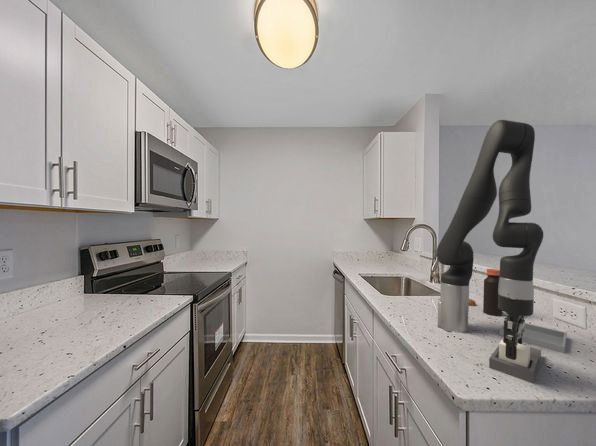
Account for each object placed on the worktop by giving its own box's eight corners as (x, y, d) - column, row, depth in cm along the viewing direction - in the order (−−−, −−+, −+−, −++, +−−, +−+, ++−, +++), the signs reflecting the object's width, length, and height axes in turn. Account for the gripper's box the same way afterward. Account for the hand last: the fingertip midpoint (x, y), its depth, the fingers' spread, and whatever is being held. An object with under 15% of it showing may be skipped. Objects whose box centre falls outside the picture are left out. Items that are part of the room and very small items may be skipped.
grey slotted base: (489, 367, 71) (489, 355, 71) (502, 347, 83) (503, 336, 83) (533, 383, 65) (533, 369, 64) (541, 358, 77) (541, 347, 77)
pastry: (474, 303, 130) (474, 296, 130) (476, 307, 124) (476, 300, 124) (452, 301, 134) (453, 293, 134) (453, 304, 128) (454, 297, 128)
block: (498, 365, 72) (499, 343, 72) (502, 359, 75) (502, 338, 75) (527, 374, 67) (527, 351, 67) (529, 368, 70) (530, 346, 70)
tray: (499, 336, 91) (499, 329, 91) (508, 325, 102) (508, 319, 102) (564, 354, 79) (564, 346, 79) (566, 339, 90) (566, 332, 90)
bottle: (481, 314, 114) (482, 269, 114) (485, 311, 119) (486, 267, 118) (500, 318, 109) (501, 271, 109) (503, 315, 113) (505, 270, 113)
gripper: (503, 287, 79) (502, 340, 79) (492, 296, 69) (490, 356, 69) (536, 293, 73) (535, 350, 73) (529, 303, 64) (528, 368, 64)
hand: (513, 353), depth 71 cm, fingers open, 8 cm apart
